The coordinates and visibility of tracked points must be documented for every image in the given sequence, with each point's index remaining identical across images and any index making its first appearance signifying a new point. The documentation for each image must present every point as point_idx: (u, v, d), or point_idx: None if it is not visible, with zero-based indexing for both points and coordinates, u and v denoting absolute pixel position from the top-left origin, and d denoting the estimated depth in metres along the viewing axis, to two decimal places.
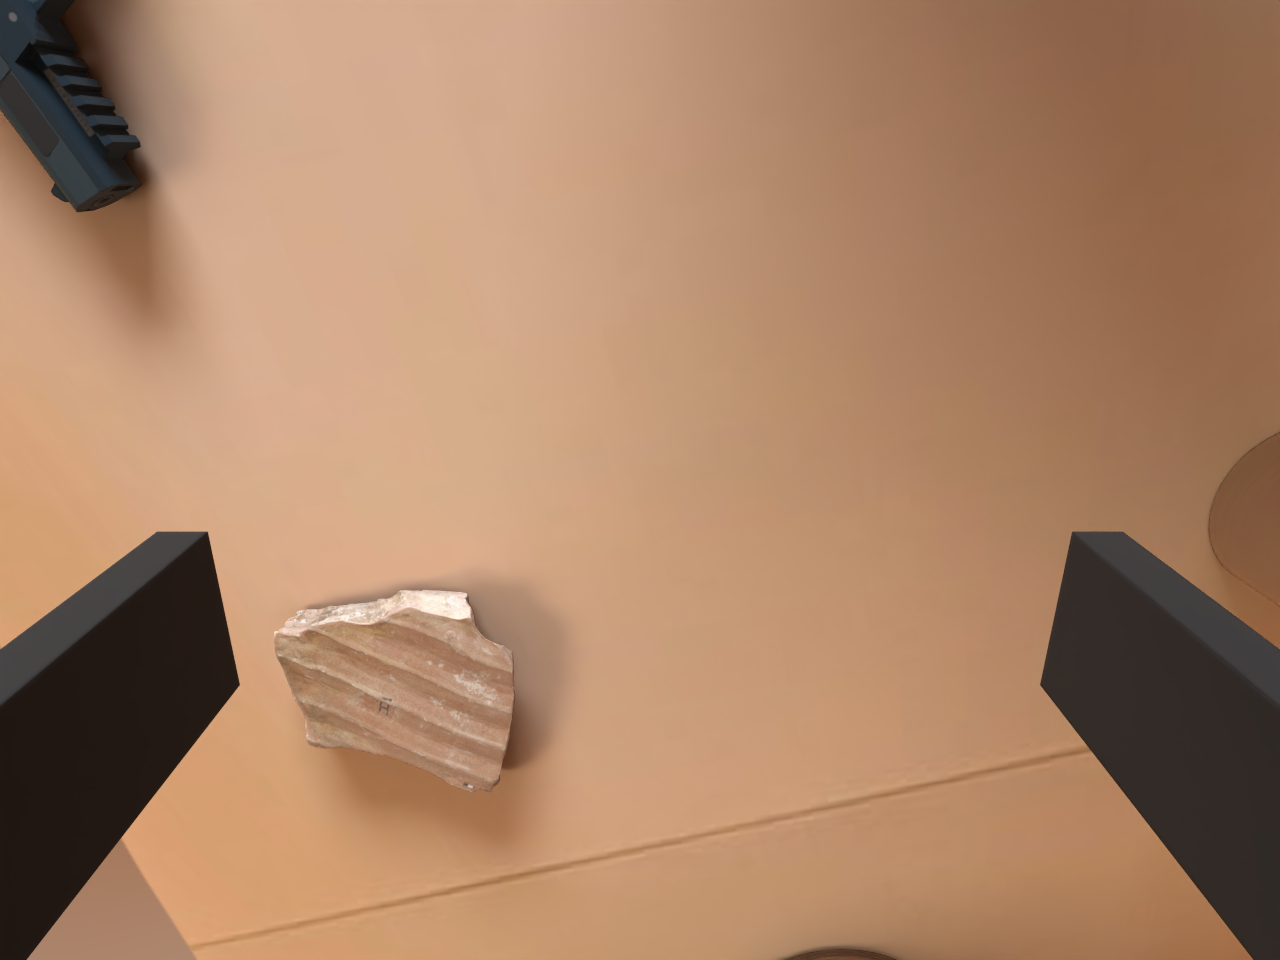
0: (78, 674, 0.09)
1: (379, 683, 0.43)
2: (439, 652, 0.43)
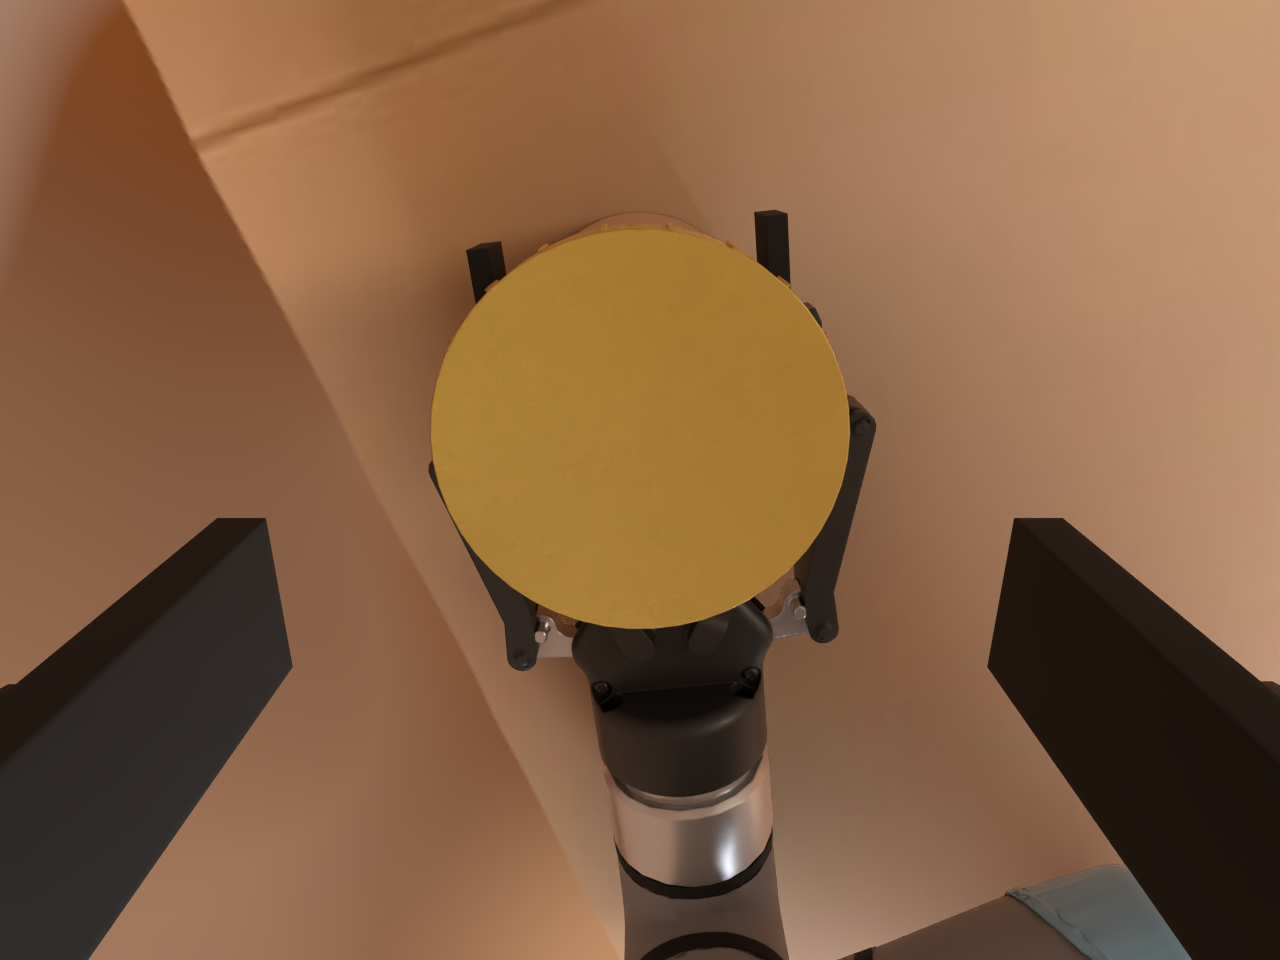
0: (159, 650, 0.10)
1: None
2: None
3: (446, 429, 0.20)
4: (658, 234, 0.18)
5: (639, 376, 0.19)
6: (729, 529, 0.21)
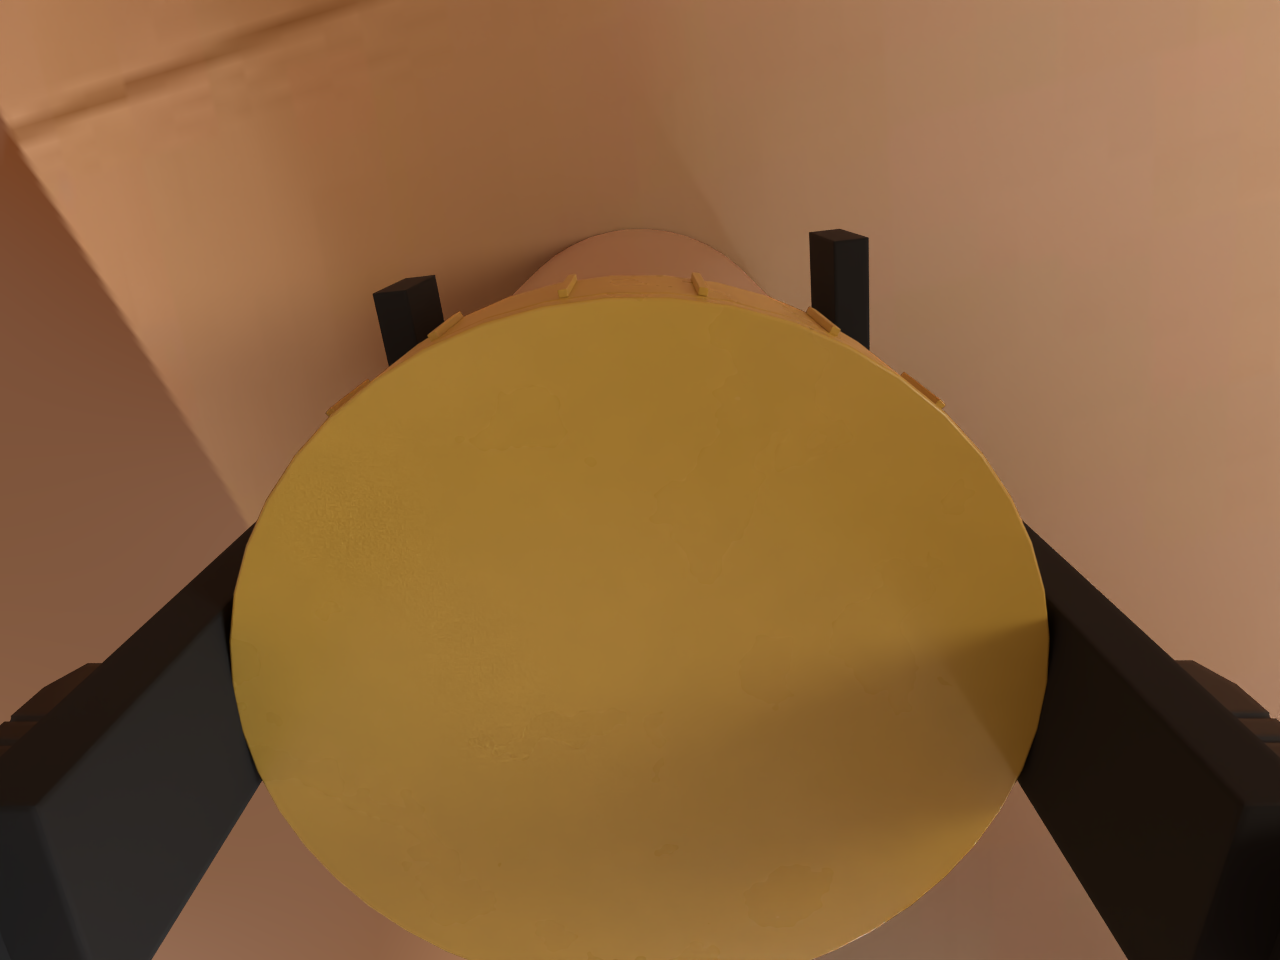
0: None
1: None
2: None
3: (262, 676, 0.10)
4: (679, 308, 0.08)
5: (637, 582, 0.10)
6: (806, 841, 0.11)
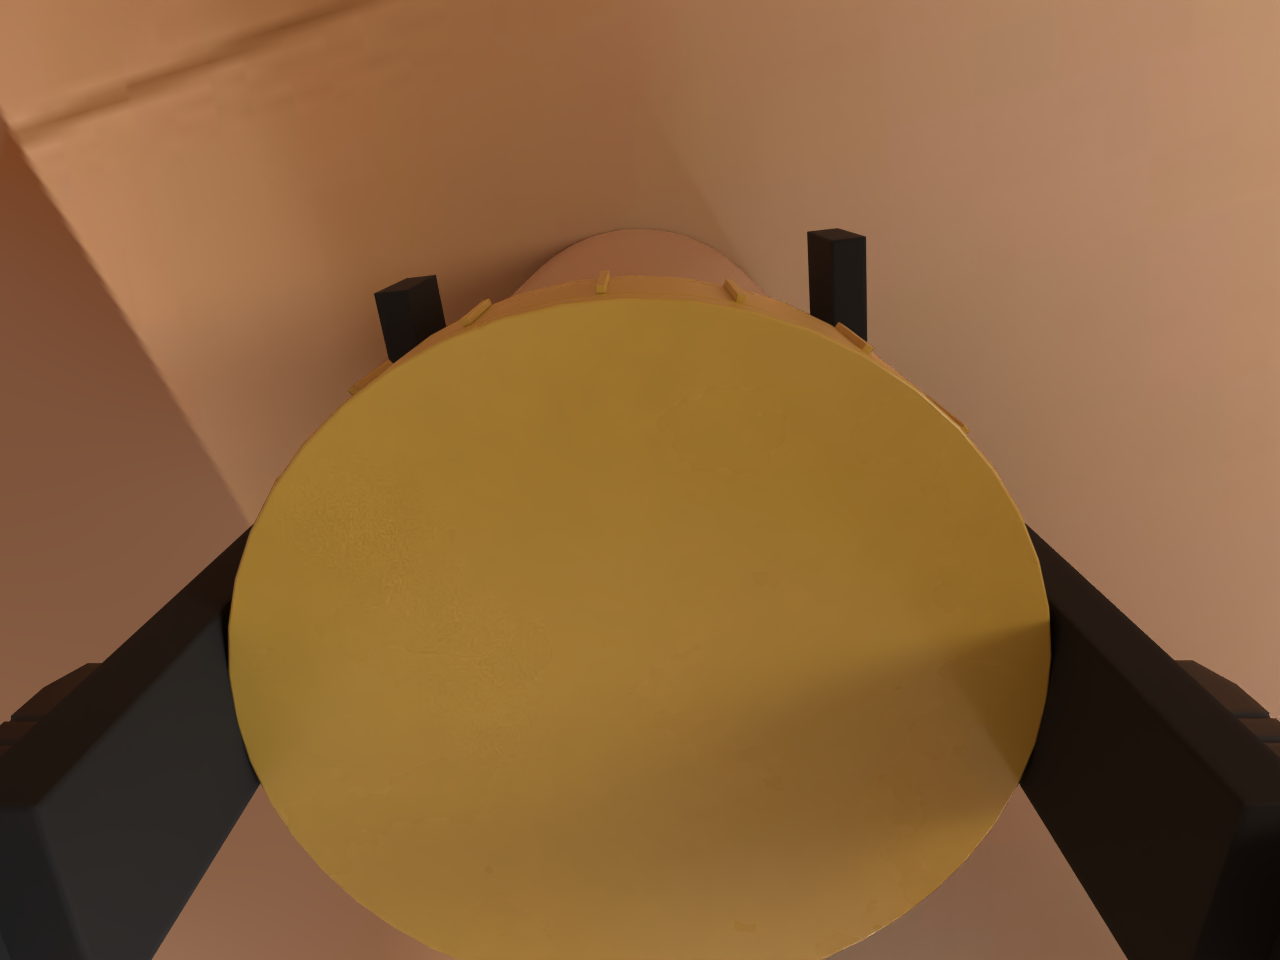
0: None
1: None
2: None
3: (837, 930, 0.12)
4: (354, 895, 0.11)
5: (540, 787, 0.11)
6: (646, 475, 0.09)
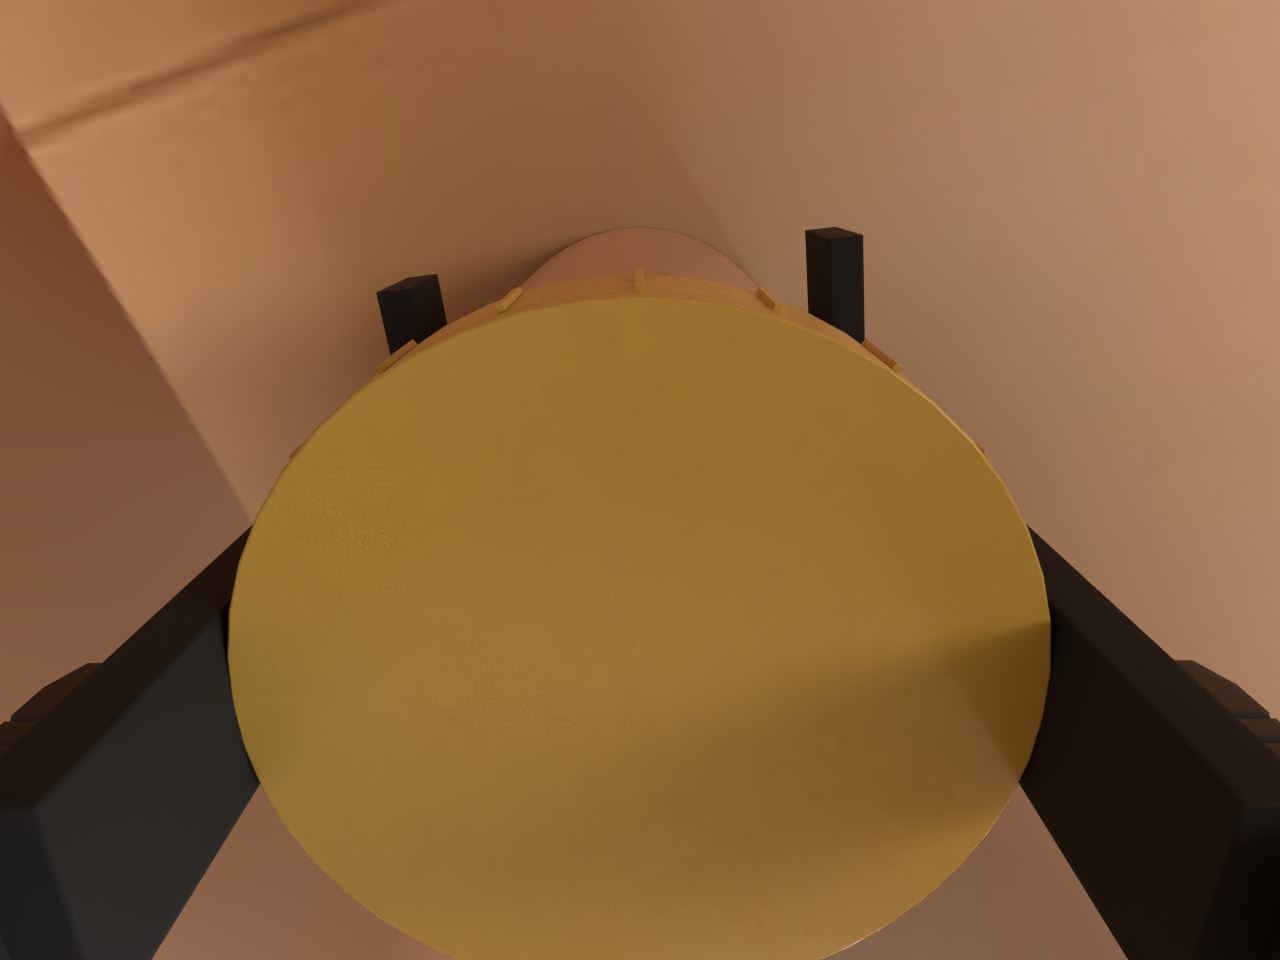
0: None
1: None
2: None
3: (723, 344, 0.09)
4: (1022, 765, 0.11)
5: (780, 718, 0.10)
6: (463, 837, 0.11)
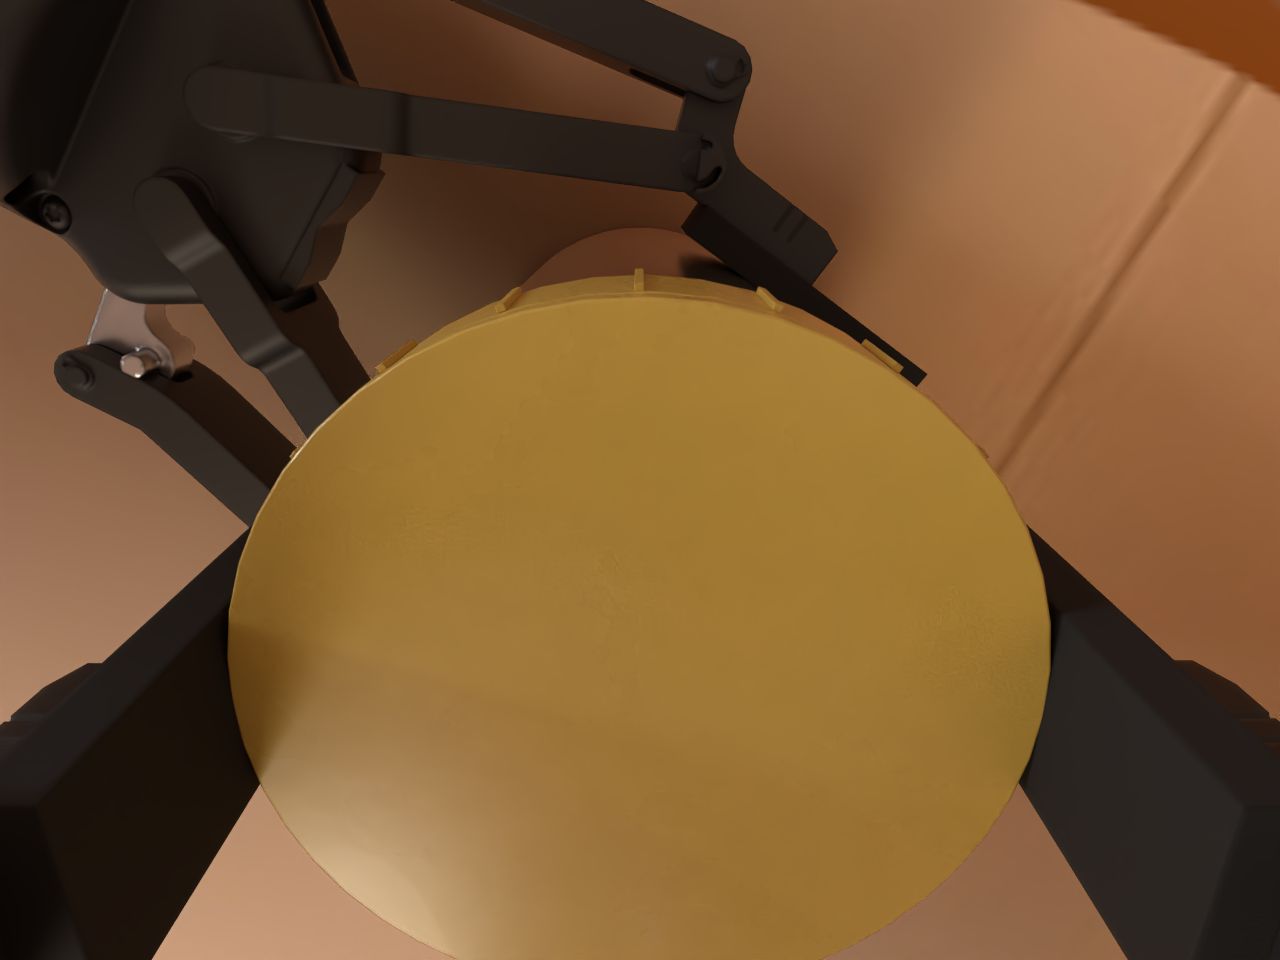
0: None
1: None
2: None
3: (723, 344, 0.09)
4: (1021, 765, 0.11)
5: (779, 718, 0.10)
6: (463, 837, 0.11)
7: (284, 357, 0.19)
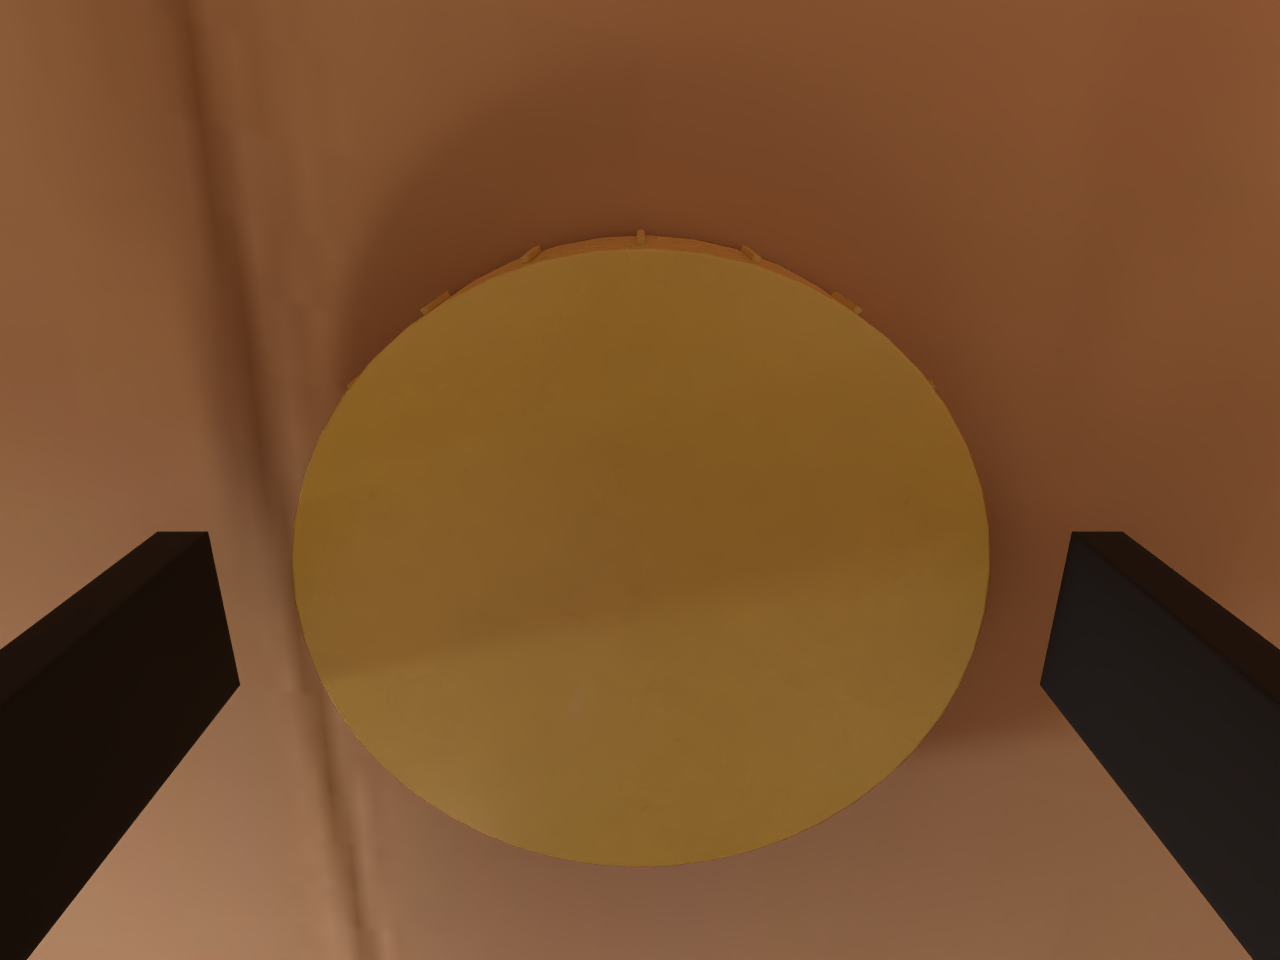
0: (78, 674, 0.09)
1: None
2: None
3: (710, 288, 0.10)
4: (967, 655, 0.12)
5: (760, 614, 0.12)
6: (489, 721, 0.13)
7: None
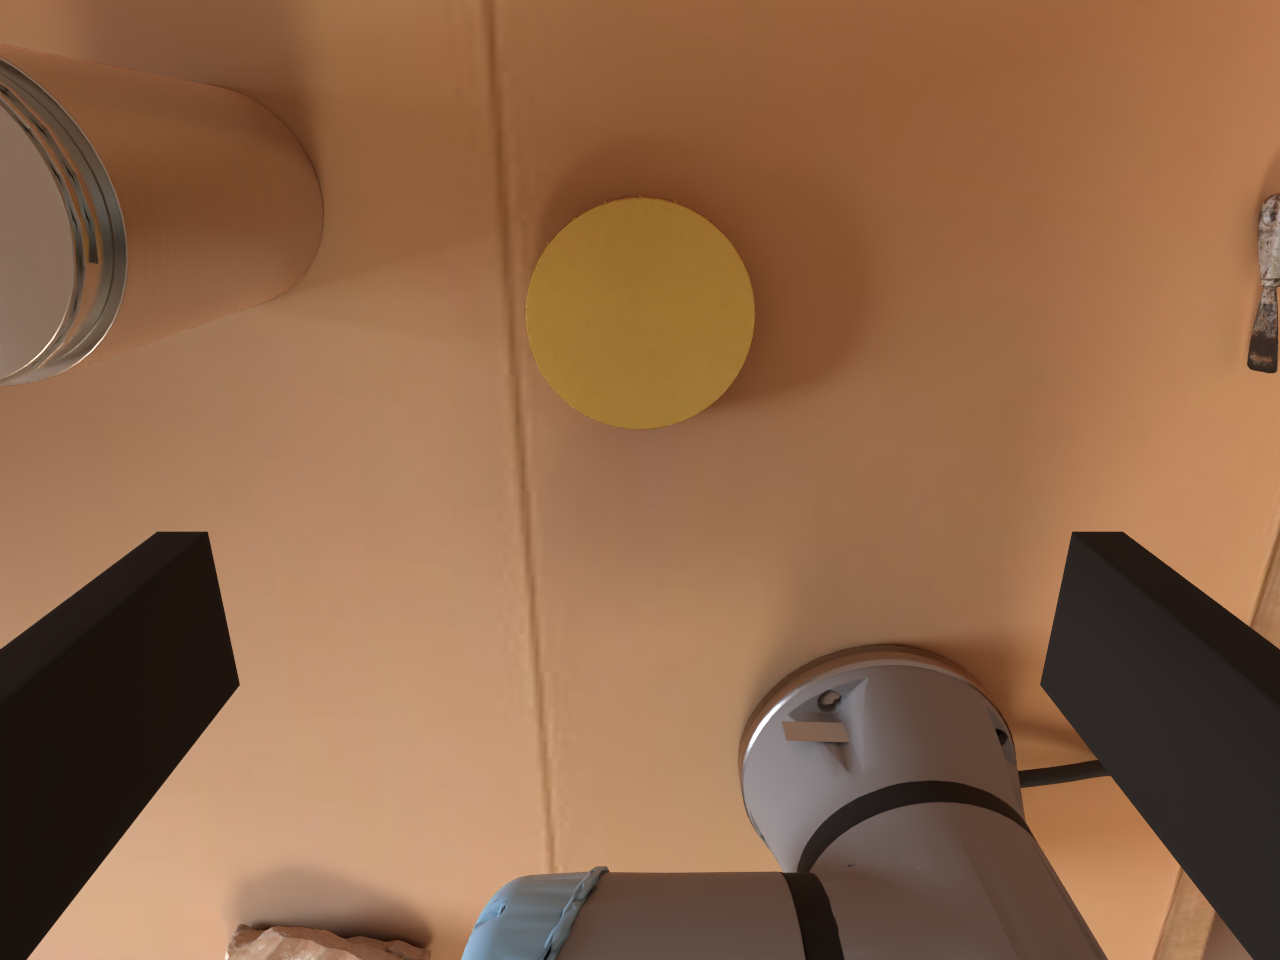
0: (78, 674, 0.09)
1: None
2: None
3: (661, 210, 0.35)
4: (750, 338, 0.37)
5: (680, 323, 0.36)
6: (588, 365, 0.37)
7: None
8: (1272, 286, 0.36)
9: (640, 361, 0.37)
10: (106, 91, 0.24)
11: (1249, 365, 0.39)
